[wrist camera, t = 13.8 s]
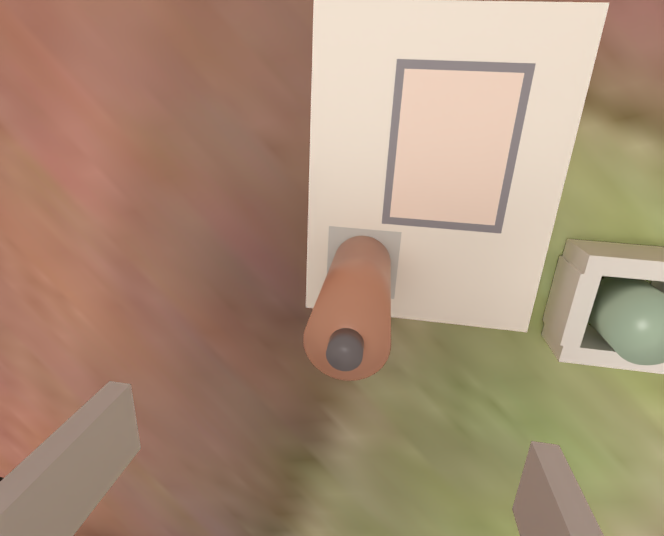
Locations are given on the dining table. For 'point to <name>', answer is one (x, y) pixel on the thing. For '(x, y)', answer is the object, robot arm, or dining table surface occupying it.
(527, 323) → the board
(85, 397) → the dining table surface
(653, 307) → the button
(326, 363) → the marker
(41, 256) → the dining table surface
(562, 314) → the button housing
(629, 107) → the dining table surface
